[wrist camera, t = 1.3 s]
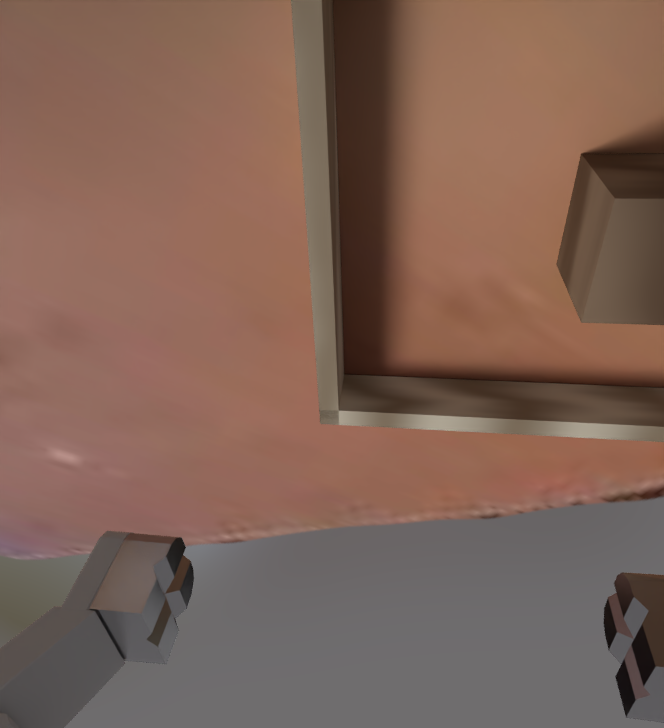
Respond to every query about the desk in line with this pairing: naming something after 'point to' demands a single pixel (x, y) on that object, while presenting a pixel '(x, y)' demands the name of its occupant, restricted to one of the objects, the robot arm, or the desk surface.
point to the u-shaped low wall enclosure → (411, 394)
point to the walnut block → (616, 239)
